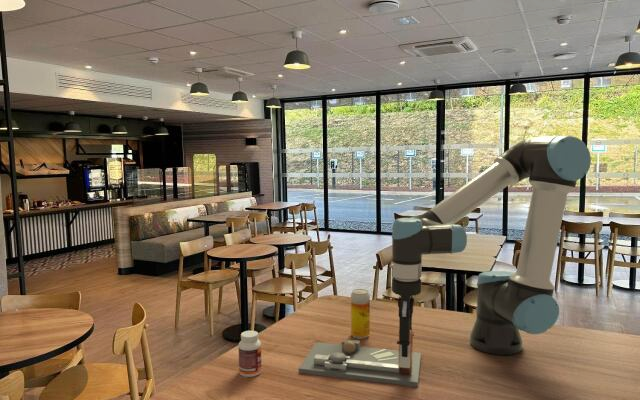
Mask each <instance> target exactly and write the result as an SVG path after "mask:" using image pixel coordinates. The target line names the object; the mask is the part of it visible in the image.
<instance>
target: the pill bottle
mask: <svg viewBox="0 0 640 400" xmlns="http://www.w3.org/2000/svg"><path fill="white" fill-rule="evenodd" d="M240 339H241V340H240V341H239V343H238V345H237V346H238V372H239V375H240V376H242V377H246V378H249V377H250V378H251V377H256V376H258V375H260V374H261V373H262V369H263V368H262V343H261V341H260V339H259V332H258V331H256V330H245V331H243V332H241V334H240Z"/></svg>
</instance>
